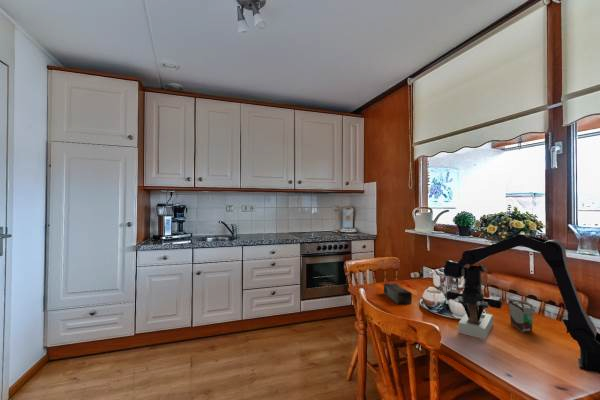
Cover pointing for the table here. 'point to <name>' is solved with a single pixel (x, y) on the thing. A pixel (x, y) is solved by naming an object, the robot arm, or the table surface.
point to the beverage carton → (398, 293)
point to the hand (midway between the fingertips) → (473, 319)
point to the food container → (521, 315)
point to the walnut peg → (473, 313)
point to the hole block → (476, 326)
